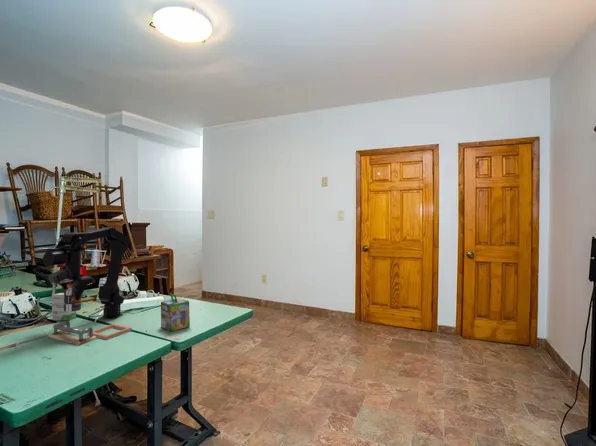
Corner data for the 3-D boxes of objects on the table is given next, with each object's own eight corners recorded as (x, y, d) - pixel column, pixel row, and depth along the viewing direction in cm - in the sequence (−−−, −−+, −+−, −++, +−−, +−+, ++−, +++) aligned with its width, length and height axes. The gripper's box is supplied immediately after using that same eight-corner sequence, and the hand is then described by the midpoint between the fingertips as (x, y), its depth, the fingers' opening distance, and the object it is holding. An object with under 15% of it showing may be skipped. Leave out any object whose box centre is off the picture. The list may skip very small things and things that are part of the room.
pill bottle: (72, 312, 135) (72, 285, 135) (60, 311, 136) (60, 284, 136) (84, 308, 141) (84, 282, 141) (72, 308, 142) (72, 281, 142)
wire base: (68, 330, 139) (68, 328, 139) (98, 338, 131) (98, 335, 131) (48, 336, 132) (48, 334, 132) (79, 345, 124) (79, 342, 124)
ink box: (76, 317, 157) (76, 292, 157) (68, 320, 152) (68, 295, 152) (60, 316, 158) (59, 292, 157) (51, 320, 153) (51, 294, 153)
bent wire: (68, 331, 138) (68, 320, 138) (96, 338, 131) (96, 326, 131) (52, 336, 133) (52, 324, 132) (80, 344, 125) (79, 331, 125)
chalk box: (190, 327, 145) (190, 293, 145) (170, 332, 138) (169, 297, 138) (180, 322, 151) (179, 290, 151) (160, 327, 145) (160, 293, 144)
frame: (113, 326, 145) (113, 323, 145) (131, 330, 140) (131, 327, 140) (87, 335, 134) (87, 332, 134) (106, 339, 130) (106, 336, 130)
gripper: (37, 263, 135) (37, 301, 135) (66, 266, 127) (66, 307, 127) (66, 260, 145) (66, 295, 145) (94, 263, 137) (94, 300, 138)
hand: (72, 299), depth 139 cm, fingers closed on pill bottle, 6 cm apart
